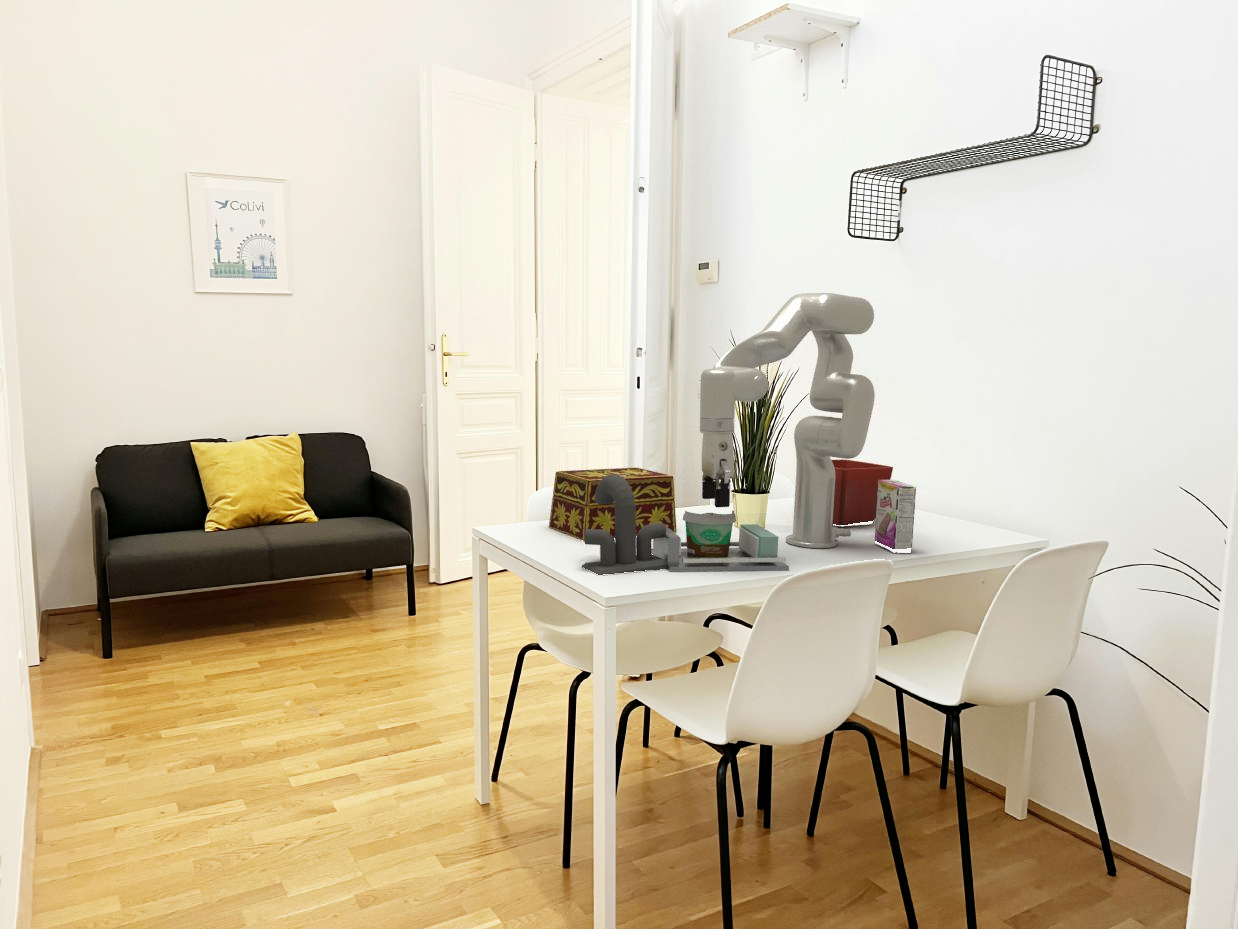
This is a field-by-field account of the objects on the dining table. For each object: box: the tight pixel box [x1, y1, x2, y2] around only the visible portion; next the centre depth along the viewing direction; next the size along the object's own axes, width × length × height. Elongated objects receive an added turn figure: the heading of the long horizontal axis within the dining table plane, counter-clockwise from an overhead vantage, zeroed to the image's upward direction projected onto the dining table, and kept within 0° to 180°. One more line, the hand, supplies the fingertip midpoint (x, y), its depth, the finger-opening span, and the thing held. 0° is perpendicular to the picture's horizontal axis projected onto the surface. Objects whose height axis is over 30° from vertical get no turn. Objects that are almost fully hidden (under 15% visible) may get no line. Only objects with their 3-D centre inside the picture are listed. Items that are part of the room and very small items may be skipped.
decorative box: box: [548, 467, 677, 542], centre depth 236 cm, size 28×19×15 cm
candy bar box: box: [874, 479, 917, 549], centre depth 224 cm, size 11×5×16 cm, turn 9°
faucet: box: [581, 474, 667, 576], centre depth 198 cm, size 18×16×20 cm
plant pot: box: [831, 458, 894, 525], centre depth 257 cm, size 19×19×17 cm
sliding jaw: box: [738, 523, 779, 563], centre depth 206 cm, size 4×14×6 cm, turn 11°
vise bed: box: [651, 525, 790, 573], centre depth 205 cm, size 26×18×7 cm
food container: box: [682, 509, 737, 558], centre depth 204 cm, size 12×6×10 cm, turn 104°
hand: (715, 502), depth 204 cm, fingers open, 9 cm apart
